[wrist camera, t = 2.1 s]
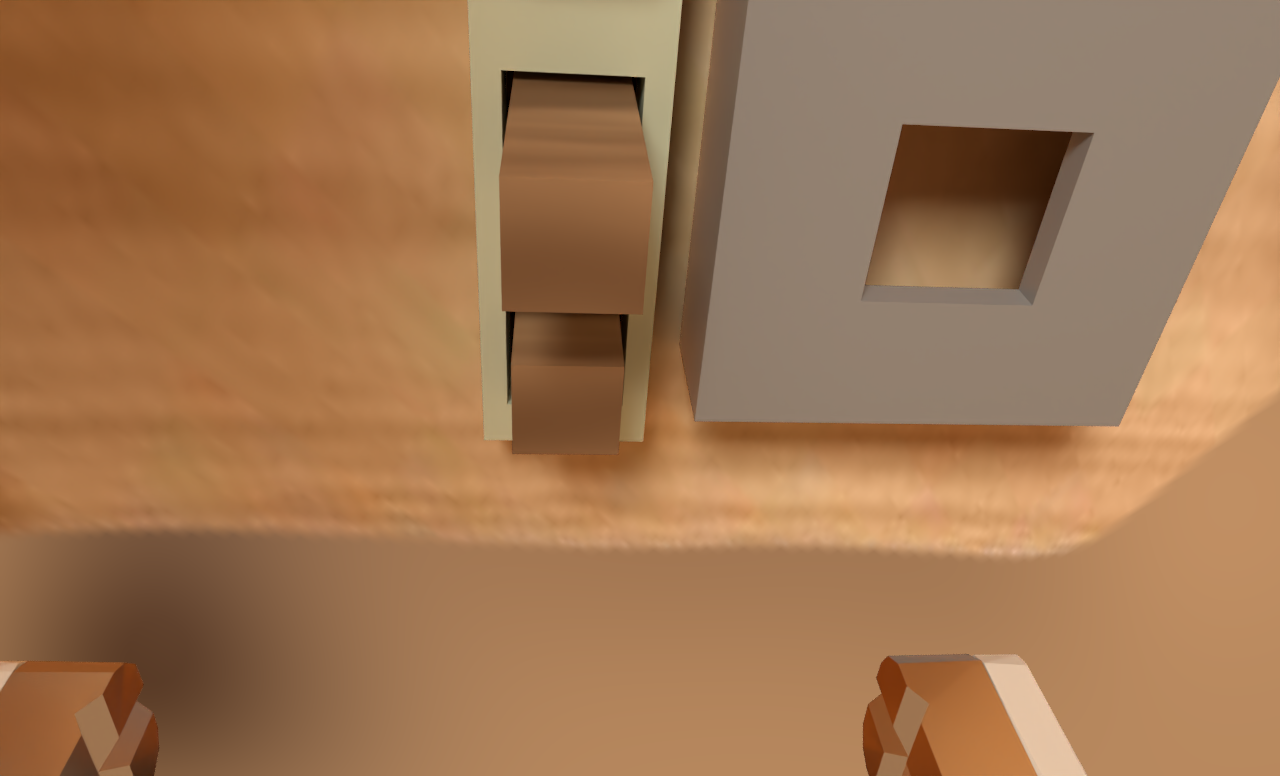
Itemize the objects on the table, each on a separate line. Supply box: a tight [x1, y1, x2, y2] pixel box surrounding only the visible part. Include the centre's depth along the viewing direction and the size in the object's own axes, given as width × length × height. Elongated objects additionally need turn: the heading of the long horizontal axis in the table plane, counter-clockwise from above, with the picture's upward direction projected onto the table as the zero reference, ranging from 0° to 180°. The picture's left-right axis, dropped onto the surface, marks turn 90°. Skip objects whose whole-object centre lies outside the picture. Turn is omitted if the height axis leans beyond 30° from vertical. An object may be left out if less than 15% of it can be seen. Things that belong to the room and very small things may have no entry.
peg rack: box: [468, 0, 682, 442], centre depth 26 cm, size 21×5×2 cm, turn 176°
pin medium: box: [511, 312, 624, 455], centre depth 29 cm, size 3×3×6 cm
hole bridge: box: [679, 0, 1280, 426], centre depth 27 cm, size 14×14×4 cm
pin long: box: [499, 71, 653, 315], centre depth 23 cm, size 3×3×9 cm
